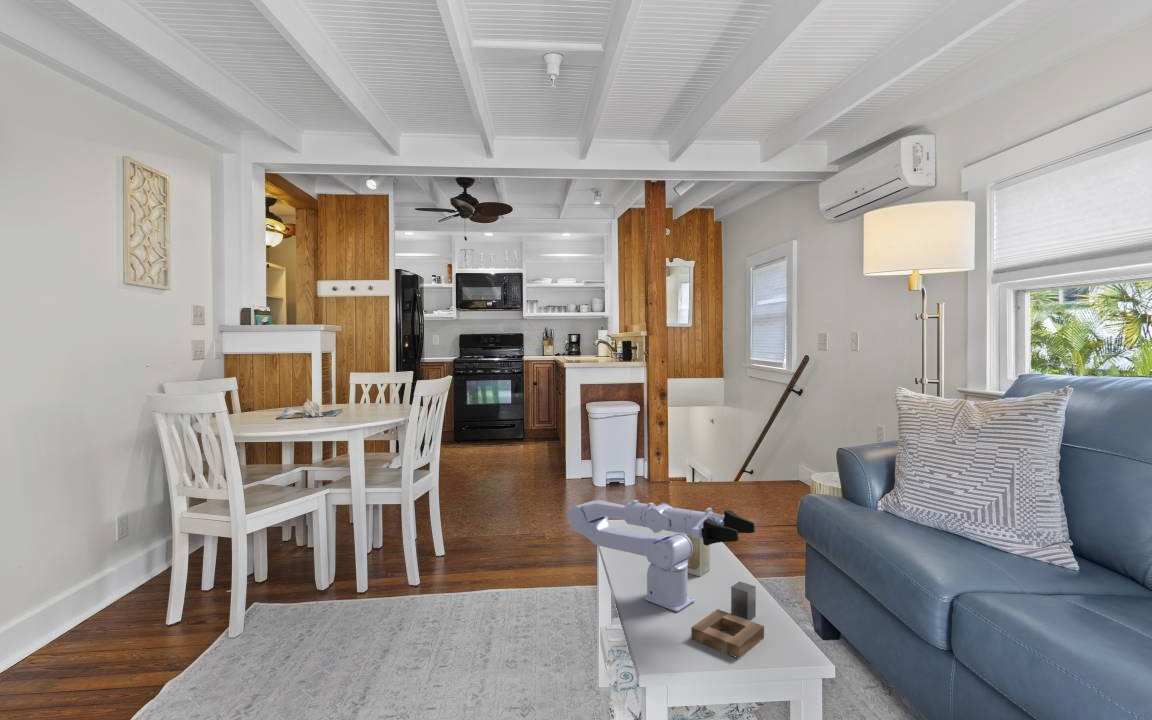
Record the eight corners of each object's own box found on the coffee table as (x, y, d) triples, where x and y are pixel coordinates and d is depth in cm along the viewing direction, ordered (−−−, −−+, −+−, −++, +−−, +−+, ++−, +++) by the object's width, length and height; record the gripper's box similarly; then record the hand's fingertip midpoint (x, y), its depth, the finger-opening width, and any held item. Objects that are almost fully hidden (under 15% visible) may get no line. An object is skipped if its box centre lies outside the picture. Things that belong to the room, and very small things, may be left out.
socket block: (691, 638, 116) (691, 627, 116) (717, 620, 124) (717, 609, 124) (739, 659, 108) (739, 646, 108) (763, 637, 116) (764, 626, 116)
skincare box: (696, 566, 155) (696, 523, 155) (710, 569, 152) (710, 526, 152) (685, 573, 150) (685, 529, 150) (700, 577, 147) (699, 532, 147)
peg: (731, 616, 126) (731, 586, 125) (739, 610, 128) (739, 581, 128) (747, 622, 123) (747, 592, 123) (755, 616, 126) (755, 586, 125)
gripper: (673, 512, 124) (728, 520, 114) (706, 499, 134) (759, 506, 125) (675, 543, 123) (730, 554, 114) (708, 528, 134) (761, 537, 124)
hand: (745, 531), depth 119 cm, fingers open, 7 cm apart
